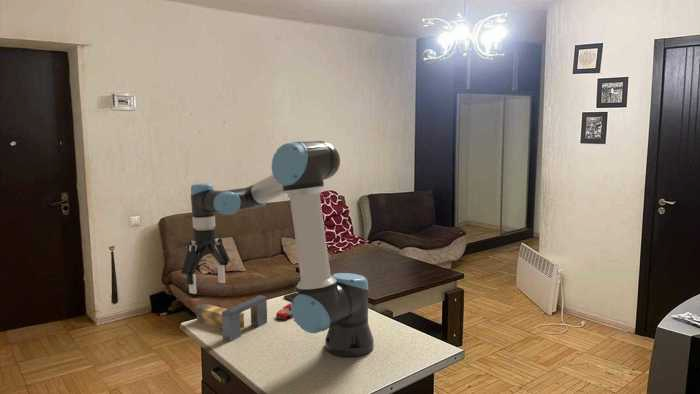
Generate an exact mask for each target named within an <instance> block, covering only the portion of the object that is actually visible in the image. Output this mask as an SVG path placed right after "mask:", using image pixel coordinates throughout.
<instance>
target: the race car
mask: <svg viewBox="0 0 700 394" xmlns="http://www.w3.org/2000/svg"><path fill="white" fill-rule="evenodd" d="M291 304H292V302H290V303H288V304H286V305H285V306H283V307H282V308H281V309H280V310H279V311H277V312H276V314H275V315H276V319H278V320H282V321H284V320H285V321H289V320H290V319H293V315H292V312H291Z"/></svg>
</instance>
